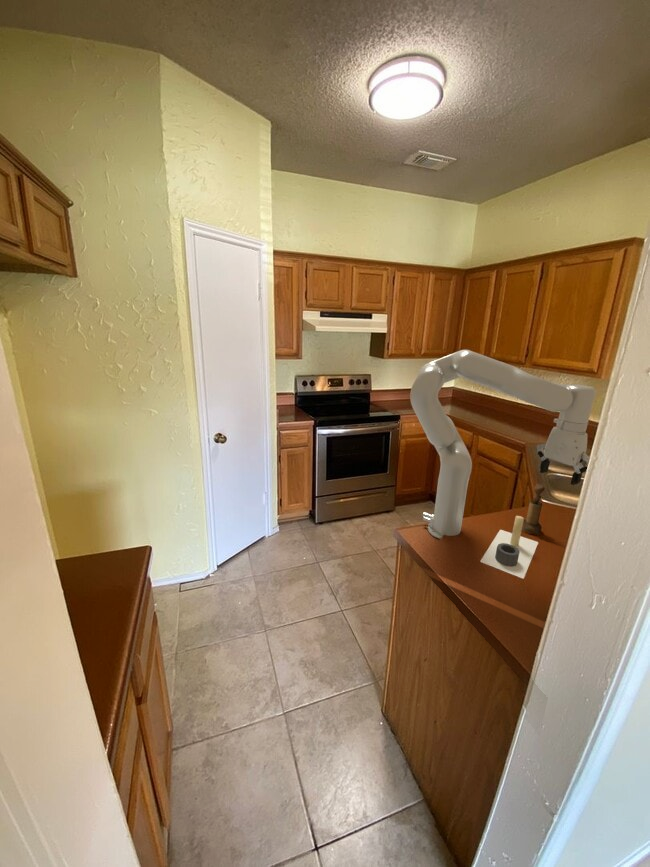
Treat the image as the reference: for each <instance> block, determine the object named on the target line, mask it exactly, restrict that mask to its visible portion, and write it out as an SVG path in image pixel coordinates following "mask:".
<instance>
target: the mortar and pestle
mask: <svg viewBox="0 0 650 867" xmlns="http://www.w3.org/2000/svg"><path fill="white" fill-rule="evenodd" d="M533 488H534V491H535V494H534V495H533V499H530V500H529V504H528V507H527V508H528V509H527V513H526V518H524V521H523V526H522V530H521V531H523V532H525V533H526V532H527V533H526V534H529V535H536V534H537V535H540V534H541V532H542V528H543V527H542V525H541V524H540V522H539V520H540V516H541V511H542V508H543V507H542V506H543V502H542V501H540V500H541V498H542V496H541V494H542V493H543V492H544V491H545V486H544V485H543V484H541V483H536V484H535V485H534V487H533ZM537 535H536V536H537Z"/></svg>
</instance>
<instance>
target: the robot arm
mask: <svg viewBox="0 0 650 867" xmlns="http://www.w3.org/2000/svg"><path fill="white" fill-rule="evenodd" d="M459 378H462V379H464V380H466V381H469V382H471V383H473V384H478V385H480V386H483V387H486V388H488V389H490V390H494V391H496V392H498V393H501V394H503V395H506V396H509V397H512V398H515V399H517V400H520V401H523V402H525V403H528V404H531V405H533V406H536V407H538V408H541V409H544V410H546V411H548V412H549V411H550V412H553V413H559V416H558V418H554V419H553V423H556V426H553V428H552V429H551V431H550V433H549V436H548V438H547V441H546V442H545V443H541V444H537V445H536V449H537V455H538V456H539V457H540V461H541V462H540V466H539V469H540V470H539V473H540V474H544V473H548V472H549V468H550V463H551V461H550V460H552V461H555V462H558V463H561V464H563V465H567V466H570V467H573V469H574V471H575V472H573V473H572V477H571V480H570V485H572V486H575V485H578V484H579V483H581V480H582V478H583V477H582V476H583V473H586V472H587V471H586V469H587V465H588V461H589V457H590V456H589V455H588V454H587V447H588V433H587V432H586V431H587V428H588V425H589V419H590V416H591V414H592V410H593V406H594V402H595V398H596V394H597V391H596V388H595V387H593V386H589V385H584V384H583V385H582V384H565V383H560V382H554V381H553V382H552V381H549V380H547V379H543V378H540V377H539V376H536V375H534V374H530V373H528V372H526V371H524V370H522V369H520V368H519V367H516V366H514V365H512V364H508V363H506V362H503V361H500V360H497V359H495V358H492V357H489V356H486V355H484V354H481V353H478V352H475V351H472V350H470V349H460V350H458V351H455V352H453V353H450V354H448V355H446V356H443V357H441V358H438V359H435V360H433V361H430V362H428V363H425V364H424V365H422V366H421V367H420V368H419V370H418V372H417V376H416V378H415V379H414V381H413V384H412V386H411V389H410V393H409V399H410V405H411V407H412V409H413V411H414V413H415V415H416V417H417V420H418V421H419V423H420V425H421V428H422V429H423V431H424V432H425V435H426V438H427V439H428V441H429V443H430V444H431V445H433V446H434V448H435V450H436V452H437V453H438V455H439V460H440V469H439V475H438V479H437V488H436V496H435V503H434V504H435V505H434V510H433V511H434V512H433V513H432V514H430V513H429V512H425V511H424V512H423V514H422V518H423V519H422V520H423V521H424V522H428V525H427V531H428V532H429V534H430V535H431V536H433V537H434V538H436V539H438V540H441V539H442V538H443V537H444V536H447V537H448V536H450V537H453V536H457V535H459V534H460V533H461V532H462V525H463V524H462V523H463V520H464V518H463V517H464V510H465V504H466V497H467V492H468V491H467V490H468V486H469V480H470V477H471V473H472V468H473V463H472V456H471V454H470V453H469V451H468V448H467V446H466V444H465V443H464V441H463V438H462V437H461V435H460V433H459V431H458V429H457V428H456V426H455V423H454V421H453V420H452V419H451V417H449V416H448V415H447V414H446V412H445V410H444V407H443V406H442V404H441V402H440V400H439V392H440V391H441V389H442V388H443V387H444V384H446V383H448V382H451V381H454V380H456V379H459ZM584 461H585V462H586V465H583V463H584Z"/></svg>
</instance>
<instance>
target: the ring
mask: <svg viewBox="0 0 650 867" xmlns="http://www.w3.org/2000/svg"><path fill="white" fill-rule="evenodd" d="M519 553H520V551H519V550H518V548H516V547H515V546H513V545H510V544H506V543H501V544H498V546H497V550H496V555H495V559H496V561H498V562H499V563H500V564H502V565H505V566H510V567H513V566H516V565H517V562H518V557H519Z"/></svg>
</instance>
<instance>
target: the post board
mask: <svg viewBox="0 0 650 867" xmlns="http://www.w3.org/2000/svg"><path fill="white" fill-rule="evenodd" d="M524 520H525V517H523V516H521V515H515V518H514V522H513V527H512V532H509V531H506V530H503V529H499V531H498V532H497V534H496V535H495V537H494V539H493V540H492V541H491V543H490V545H489V547H488V549H487V550H486V551H485V552H484V555H483V556H482V557H481V559H480V563H483V564H484V565H487V566H490V567H493V568H494V569H497V570H499V571H502V572H505V573H507V574H510V575H512V576H516V577H517V578H520V579H525V577H526V575H527V571H528V569H529V566H530V565H531V562H532V559H533V557H534V555H535V552H536V549H537V546H538V545H539V542H538V541H536V540H533V539H530V538H527V537H524V536H521V535H522V531H523V530H522V526H523V521H524ZM501 543H506V544H510V545H513V546H515V547H516V548H518V550H519V551H520V553H519V557H518V562H517V565H516V566H513V567H510V566H505V565H502V564H500V563H499V562H498V561H496V559H495V555H496V550H497V546H498V544H501Z"/></svg>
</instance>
